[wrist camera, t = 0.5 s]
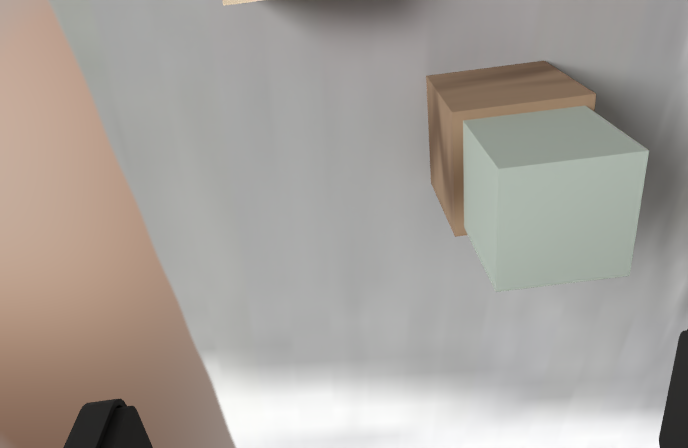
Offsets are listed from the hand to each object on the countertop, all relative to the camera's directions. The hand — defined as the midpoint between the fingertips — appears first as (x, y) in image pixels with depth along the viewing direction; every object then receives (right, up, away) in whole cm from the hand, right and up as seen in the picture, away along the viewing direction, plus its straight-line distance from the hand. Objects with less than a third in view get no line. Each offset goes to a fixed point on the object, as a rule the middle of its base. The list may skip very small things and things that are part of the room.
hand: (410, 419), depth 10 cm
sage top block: (+8, +6, +20) cm, 22 cm away
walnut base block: (+8, +10, +26) cm, 28 cm away
